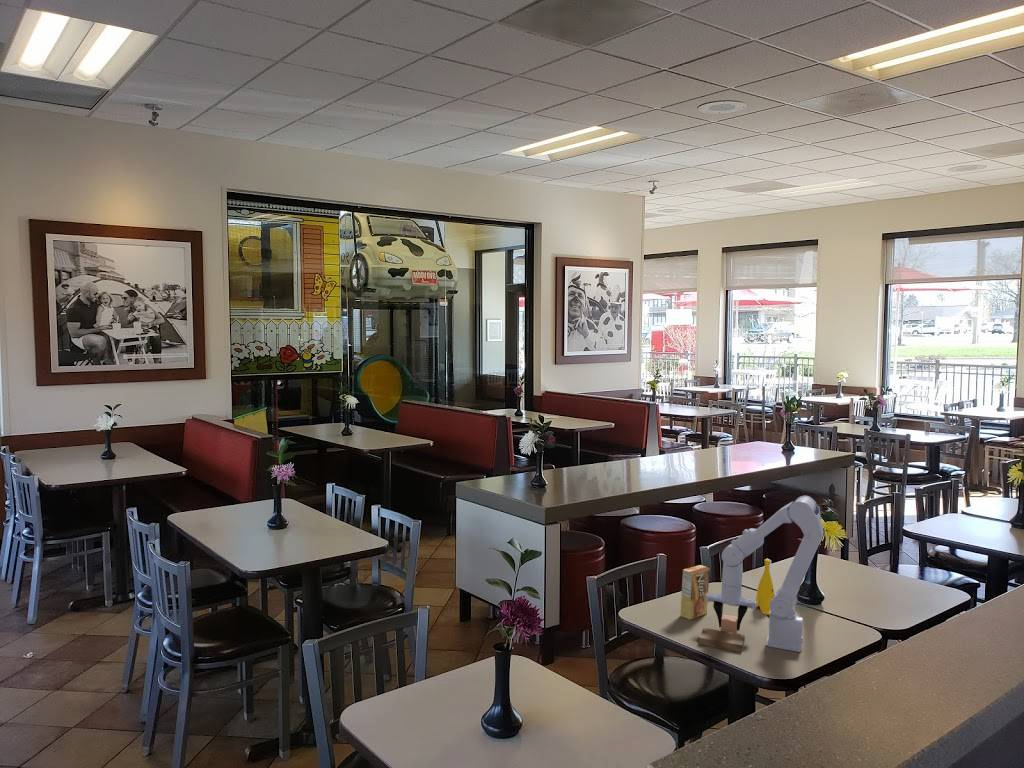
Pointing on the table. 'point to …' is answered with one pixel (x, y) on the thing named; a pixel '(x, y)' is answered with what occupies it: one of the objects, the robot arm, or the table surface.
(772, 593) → the banana peel
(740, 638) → the walnut board
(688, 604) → the candy box
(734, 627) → the terracotta cube
